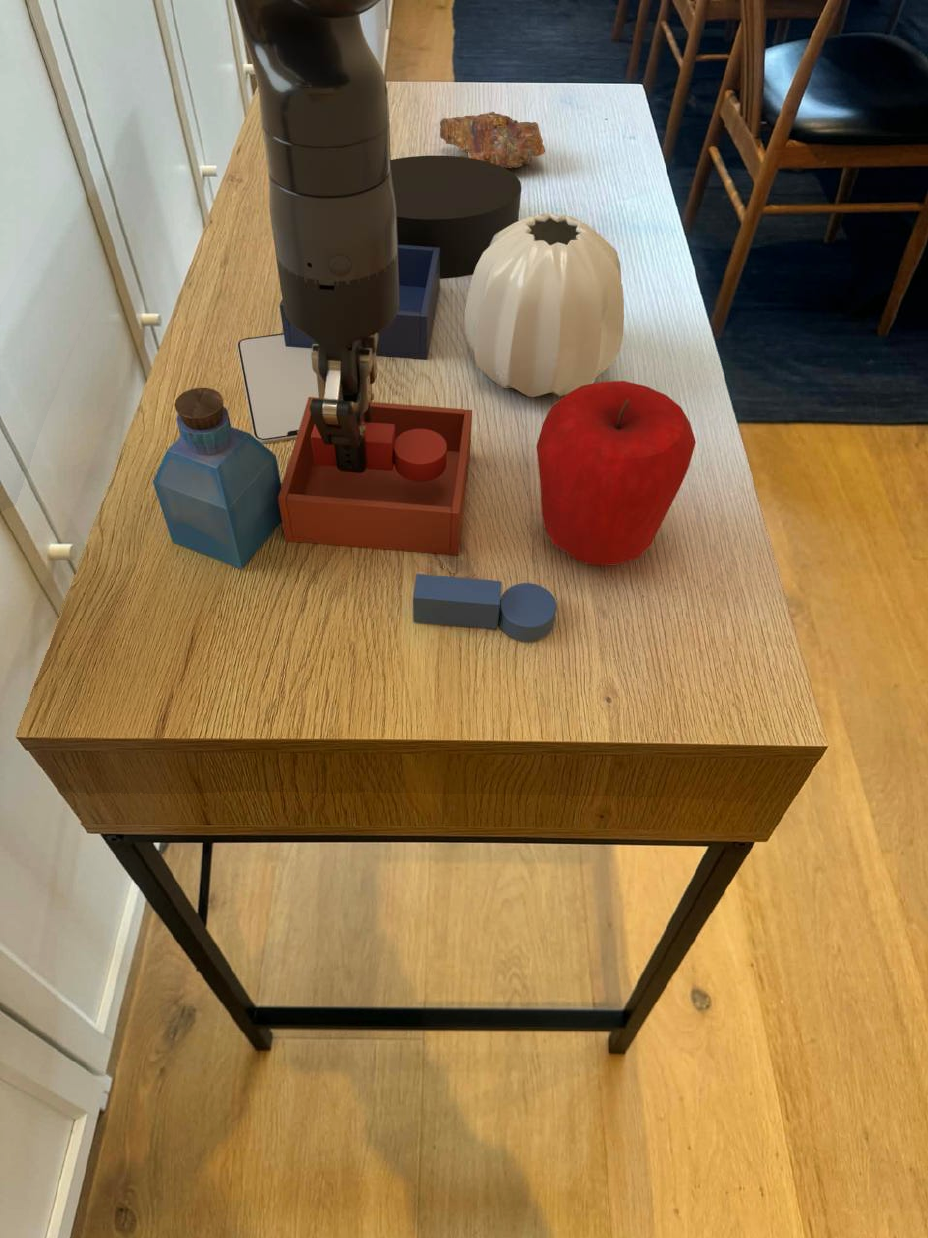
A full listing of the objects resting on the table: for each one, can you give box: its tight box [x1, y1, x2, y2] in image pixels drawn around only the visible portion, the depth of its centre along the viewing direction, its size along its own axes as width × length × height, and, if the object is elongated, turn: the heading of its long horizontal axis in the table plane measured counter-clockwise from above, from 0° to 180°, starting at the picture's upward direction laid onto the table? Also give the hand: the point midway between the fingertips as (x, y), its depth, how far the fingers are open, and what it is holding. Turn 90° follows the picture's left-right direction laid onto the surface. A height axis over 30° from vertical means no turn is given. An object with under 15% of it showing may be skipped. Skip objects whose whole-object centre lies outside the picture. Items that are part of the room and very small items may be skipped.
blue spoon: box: [412, 573, 558, 643], centre depth 63 cm, size 10×4×3 cm, turn 85°
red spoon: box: [311, 422, 447, 482], centre depth 67 cm, size 10×4×3 cm, turn 85°
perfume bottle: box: [152, 387, 282, 570], centre depth 64 cm, size 6×6×12 cm
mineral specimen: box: [439, 111, 546, 169], centre depth 105 cm, size 12×8×7 cm
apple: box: [536, 380, 697, 566], centre depth 64 cm, size 10×10×14 cm
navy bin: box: [279, 245, 441, 360], centre depth 84 cm, size 13×12×4 cm
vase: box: [463, 212, 625, 398], centre depth 77 cm, size 14×14×13 cm
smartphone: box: [236, 332, 319, 445], centre depth 79 cm, size 7×1×15 cm
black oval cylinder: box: [391, 155, 522, 279], centre depth 93 cm, size 14×18×8 cm
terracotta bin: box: [278, 397, 473, 556], centre depth 69 cm, size 13×12×4 cm
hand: (355, 456), depth 68 cm, fingers closed on red spoon, 2 cm apart
